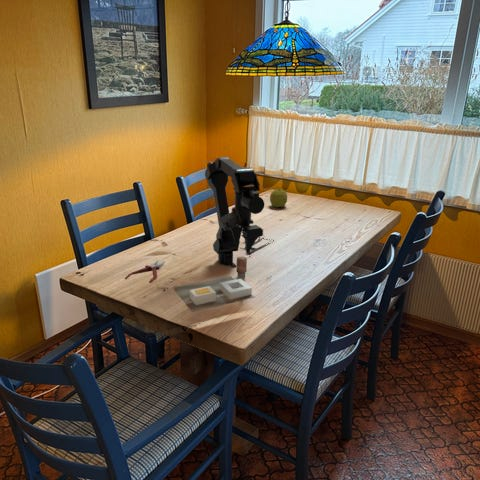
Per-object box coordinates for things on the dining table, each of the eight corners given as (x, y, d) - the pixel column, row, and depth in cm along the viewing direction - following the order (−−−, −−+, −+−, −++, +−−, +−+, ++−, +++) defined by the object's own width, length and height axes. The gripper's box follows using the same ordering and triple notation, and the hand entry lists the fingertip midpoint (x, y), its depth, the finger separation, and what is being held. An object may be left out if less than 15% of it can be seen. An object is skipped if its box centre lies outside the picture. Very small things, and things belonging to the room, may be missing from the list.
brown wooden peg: (234, 280, 161) (234, 257, 158) (243, 278, 162) (243, 255, 159) (239, 284, 158) (239, 261, 155) (247, 282, 160) (248, 259, 156)
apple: (278, 203, 255) (279, 185, 251) (290, 207, 248) (291, 188, 245) (265, 206, 249) (266, 187, 245) (277, 210, 242) (278, 191, 238)
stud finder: (189, 298, 144) (189, 289, 143) (209, 294, 147) (209, 285, 146) (195, 305, 140) (195, 296, 139) (215, 300, 143) (215, 291, 142)
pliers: (174, 265, 173) (174, 259, 172) (152, 288, 154) (152, 282, 153) (148, 262, 175) (147, 256, 174) (122, 284, 157) (122, 277, 156)
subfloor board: (172, 291, 152) (172, 287, 151) (230, 279, 161) (230, 275, 161) (192, 316, 137) (192, 311, 136) (254, 301, 147) (254, 297, 146)
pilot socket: (219, 289, 151) (219, 282, 150) (240, 284, 154) (240, 278, 153) (230, 299, 144) (230, 292, 143) (251, 294, 148) (251, 287, 147)
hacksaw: (249, 256, 183) (249, 252, 182) (229, 250, 188) (229, 246, 188) (278, 239, 201) (279, 236, 201) (260, 234, 207) (260, 231, 206)
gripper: (210, 201, 154) (210, 242, 160) (234, 216, 139) (233, 261, 144) (238, 197, 159) (237, 238, 165) (265, 211, 144) (263, 256, 149)
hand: (242, 248), depth 156 cm, fingers open, 8 cm apart
